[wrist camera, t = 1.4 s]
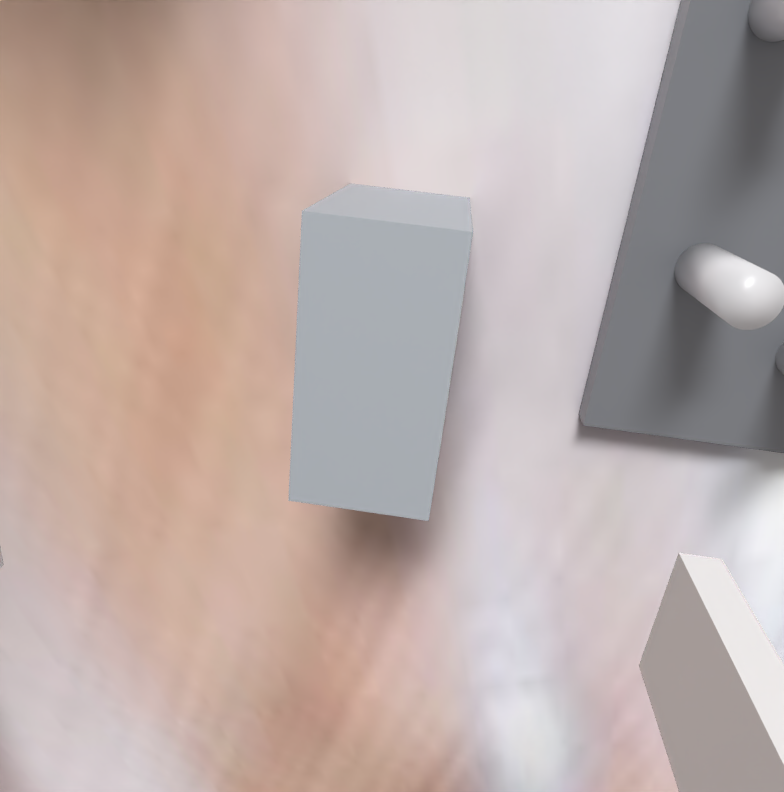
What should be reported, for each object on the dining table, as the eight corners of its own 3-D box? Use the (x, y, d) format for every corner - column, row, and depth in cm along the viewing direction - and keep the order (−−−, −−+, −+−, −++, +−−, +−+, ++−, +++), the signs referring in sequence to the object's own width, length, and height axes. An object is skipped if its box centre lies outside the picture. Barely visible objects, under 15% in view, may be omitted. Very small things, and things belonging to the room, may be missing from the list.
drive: (333, 399, 31) (287, 500, 23) (349, 183, 27) (300, 210, 19) (438, 413, 31) (429, 521, 22) (470, 197, 27) (474, 232, 18)
